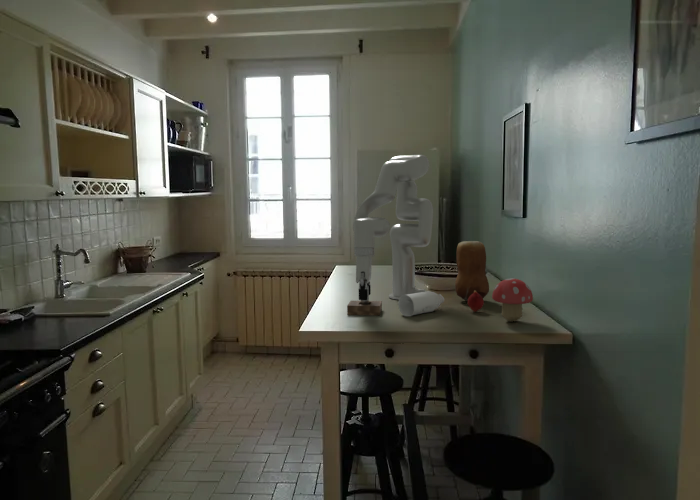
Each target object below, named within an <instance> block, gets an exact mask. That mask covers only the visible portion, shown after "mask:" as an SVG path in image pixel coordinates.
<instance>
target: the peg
mask: <svg viewBox="0 0 700 500" xmlns="http://www.w3.org/2000/svg"><path fill="white" fill-rule="evenodd" d="M367 289H368V299H367V300H360V301H361V305H369V301H370V299H369V298H370V295H369V286H367Z"/></svg>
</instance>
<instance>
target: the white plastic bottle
mask: <svg viewBox="0 0 700 500" xmlns="http://www.w3.org/2000/svg"><path fill="white" fill-rule="evenodd" d="M397 301H398V303H397V305H398V309H399V311H400V314H401V315H402V316H404V317H413V316H416V315H420V314H425V313H426V314H427V313H432V312H434V311H435V310H436V309H438V308H439V307H440V305H441V304H444V302H445V298H444V296H443V295H442V294H441V293H440V292H439V294H438V293H437V292H435V291H430V290H425V292H419V293H413V294H407V295H402V296H401V297H399V300H397Z"/></svg>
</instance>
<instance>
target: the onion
mask: <svg viewBox="0 0 700 500" xmlns="http://www.w3.org/2000/svg"><path fill="white" fill-rule="evenodd" d="M484 304H485V301H484V298H482V296H481V295H480V294H478V293H477V292H476V291H474V293H473V294H472V295H471V296H470V297H469V298H468V301H467V305H468V307H469V308H470V309H471V311H472V312H474V313H476V312H478V311H480V310H482V308H483V307H484Z"/></svg>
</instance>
